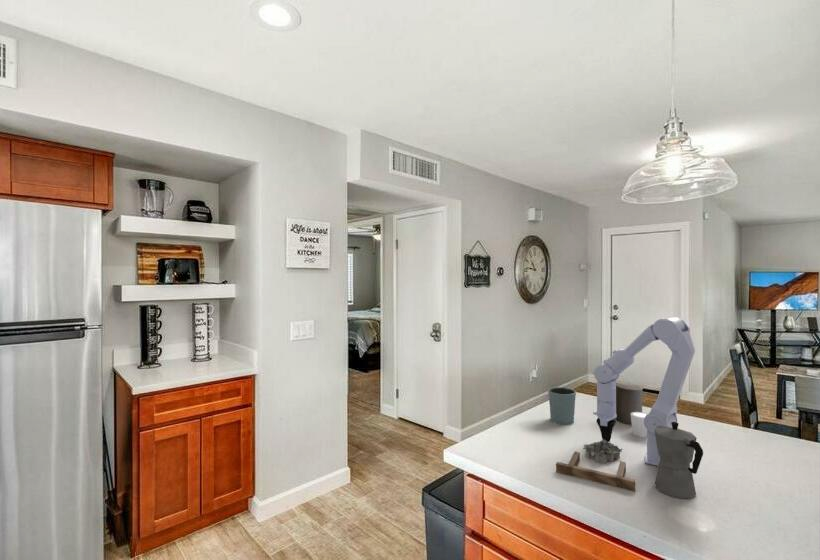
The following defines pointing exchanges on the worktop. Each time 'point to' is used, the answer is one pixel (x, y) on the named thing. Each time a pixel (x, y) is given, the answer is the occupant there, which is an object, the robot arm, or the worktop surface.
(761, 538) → the worktop surface
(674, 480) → the coffeepot
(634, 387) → the pillar candle
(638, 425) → the shot glass
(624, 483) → the walnut bracket
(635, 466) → the worktop surface
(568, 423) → the teal grey cup
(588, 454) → the egg carton
